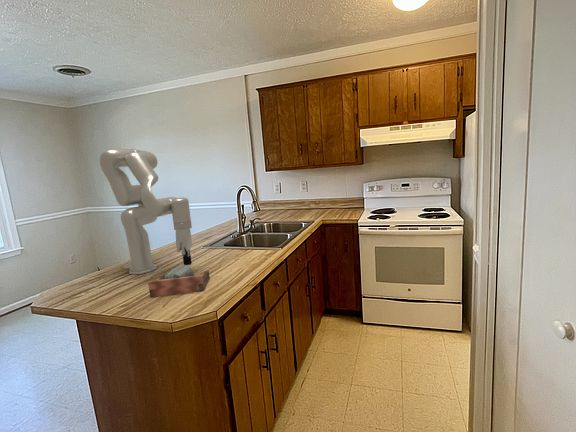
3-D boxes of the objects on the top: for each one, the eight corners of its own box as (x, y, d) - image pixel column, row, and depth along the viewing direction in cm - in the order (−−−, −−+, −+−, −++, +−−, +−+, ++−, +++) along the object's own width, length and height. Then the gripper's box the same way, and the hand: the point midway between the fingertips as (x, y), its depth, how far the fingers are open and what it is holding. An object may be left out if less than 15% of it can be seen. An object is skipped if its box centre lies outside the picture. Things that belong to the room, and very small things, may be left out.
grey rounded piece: (180, 286, 120) (171, 262, 123) (163, 296, 123) (155, 273, 126) (203, 281, 133) (195, 260, 135) (187, 290, 136) (179, 269, 138)
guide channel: (150, 297, 121) (147, 282, 120) (162, 282, 136) (160, 269, 135) (203, 290, 122) (201, 276, 121) (209, 277, 137) (207, 264, 136)
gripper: (178, 222, 148) (183, 260, 151) (169, 229, 133) (175, 270, 136) (194, 221, 148) (199, 258, 151) (187, 228, 134) (192, 269, 137)
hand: (187, 264), depth 144 cm, fingers closed
